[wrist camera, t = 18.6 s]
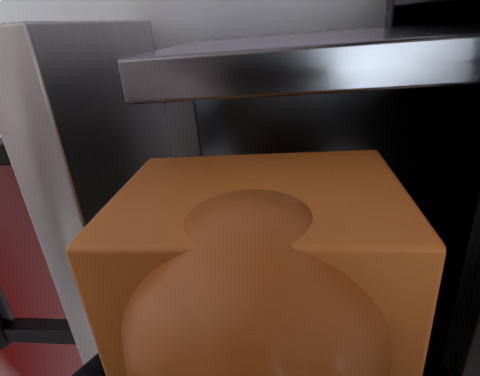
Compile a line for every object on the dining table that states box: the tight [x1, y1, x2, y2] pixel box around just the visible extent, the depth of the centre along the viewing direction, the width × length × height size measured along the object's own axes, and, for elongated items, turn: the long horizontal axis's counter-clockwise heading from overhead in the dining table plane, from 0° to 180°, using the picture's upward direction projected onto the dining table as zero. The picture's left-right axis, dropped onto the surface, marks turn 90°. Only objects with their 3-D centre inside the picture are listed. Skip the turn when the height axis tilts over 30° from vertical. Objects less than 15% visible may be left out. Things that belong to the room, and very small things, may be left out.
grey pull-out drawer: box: [0, 19, 480, 365], centre depth 11 cm, size 19×12×6 cm, turn 94°
